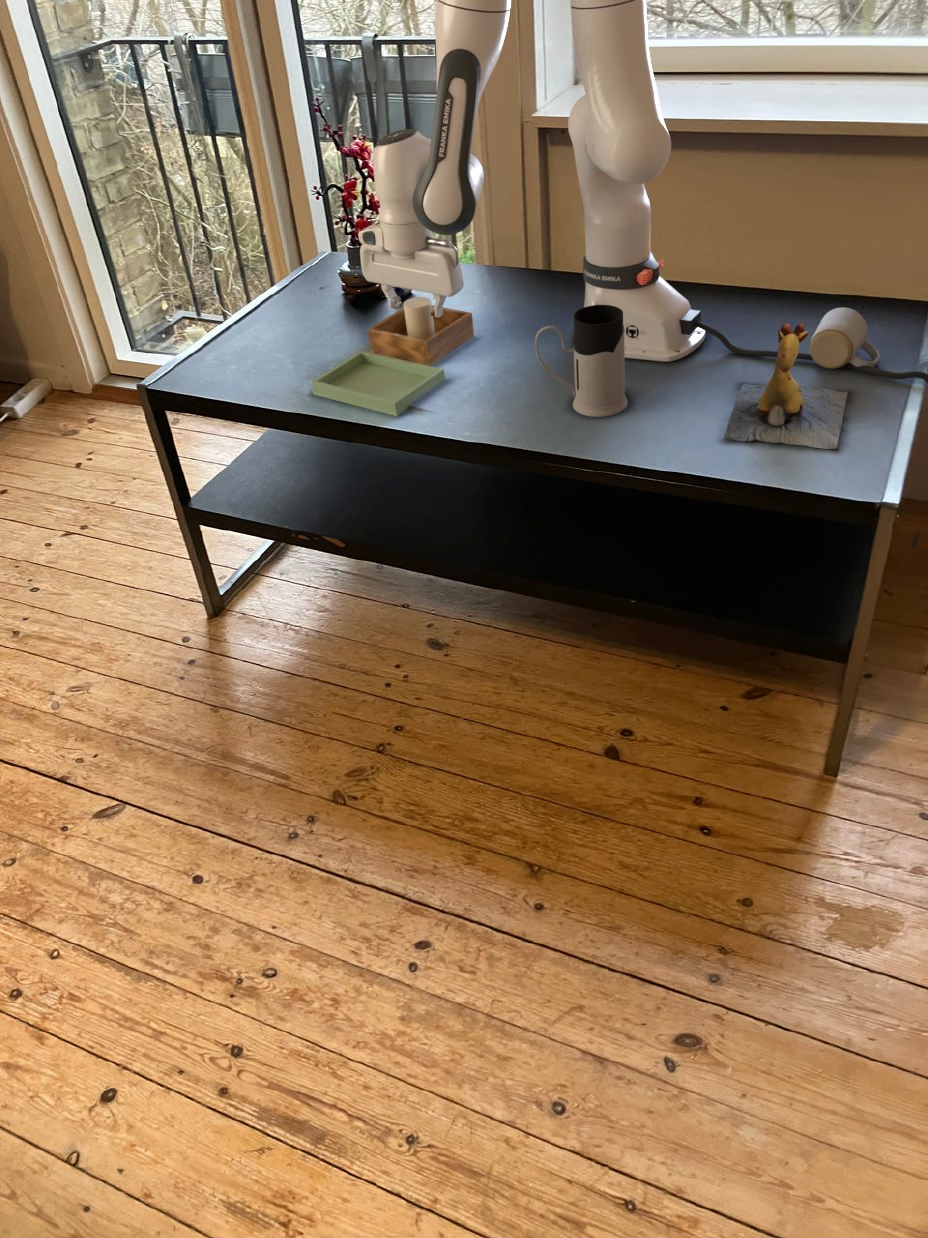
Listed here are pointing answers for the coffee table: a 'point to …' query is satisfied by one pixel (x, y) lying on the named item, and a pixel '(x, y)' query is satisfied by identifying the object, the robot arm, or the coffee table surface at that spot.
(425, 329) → the candle
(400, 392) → the tray
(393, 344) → the wooden box
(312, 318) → the coffee table surface
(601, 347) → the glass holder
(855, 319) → the ceramic mug
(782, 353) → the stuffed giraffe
